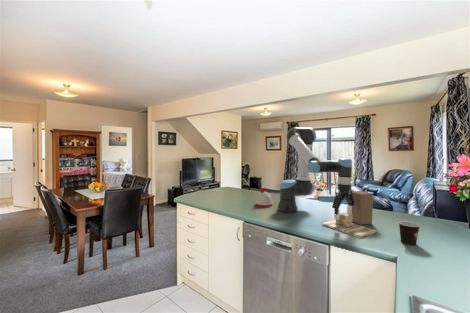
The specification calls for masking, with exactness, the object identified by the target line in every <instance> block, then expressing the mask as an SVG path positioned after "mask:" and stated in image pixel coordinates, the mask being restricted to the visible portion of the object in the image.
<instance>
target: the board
mask: <svg viewBox="0 0 470 313" xmlns="http://www.w3.org/2000/svg"><path fill="white" fill-rule="evenodd" d="M321 225H322V226H323V225H324V226H323V227H326V226H327V228H329V227H330V228H329V229H332V228H333V230H335V229H336V231H338V230H339V232H341V231H342V232H341V233H344V234H347V233H348V235H350V234H351V235H350V236H353V235H354V237H356V236H357V237H356V238H359V237H360V239H363V238H365V237H368V236H371V235H373V234H376V233H377V230H376V229H373V228H369V227H367V226H363V225H359V224H357V223H354V222H352V227H349V228H346V227H343V226H340V225H337V224H336V219H331V220H328V221H325V222H323V223H322V224H321Z"/></svg>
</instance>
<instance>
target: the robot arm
mask: <svg viewBox="0 0 470 313" xmlns="http://www.w3.org/2000/svg"><path fill="white" fill-rule="evenodd" d="M286 132H287V133H286V141H287V144H289V145H290V146H293V148H294V149H295V151H296V152H297V153H298V162H297V163H298V164H297V165H298V166H297V167H298V168H297V177H295V179H284V180H282V181H280V184H279V185H280V186H279V189H280V190H279V192H280V193H279V202H278V205H277V210H278V211H279V212H283V213H296V212H298V206H297V202H296V197H303V196H304V197H306V196H311V194H313V193H314V190H315V186H314V182H313V181H312V179H311V177H310V173H311V174H313V173H314V174H317V173H318V174H319V173H321V174H323V173H335V174H336V173H337V175H338V176H337V190H338V191H339V192H335V196H334V200H333V201H332V202H333V203H332V206H331V208H333V209H334V216H333V218H334V219H333V220H335V219H337V220H339V212H340V211H341V210H340V207H341V204H342V202H343V201H344V200H345V201H346V203H347V207H346V214H350V215H352V206H354V199H353V195H352V191H353V190H352V181H353V180H352V174H353V173H352V172H353V171H352V170H353V161H352V159H351V158H343V157H342V158H338V160H333V159H331V160H330V159H328V160H320V159H319V158H318V157H317V156H316V155H315V153H314V152H313V151H312V149H311V147H312V146H313V143H314V142H315V141H316V140H317V134H316V130H315V129H314V128H312V127H302V126H300V127H298V126H294V127H292V128H290V129H289V130H288V131H286Z"/></svg>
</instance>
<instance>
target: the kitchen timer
mask: <svg viewBox="0 0 470 313" xmlns="http://www.w3.org/2000/svg"><path fill="white" fill-rule="evenodd" d="M259 191H260V193H259V194H258V195H257V198H256V200H255V206H257V207H260V208H270V207H271V208H272V206H273V199H272V197H271V195H270V193H268V192H269V189H268V188H266V187H261V188H260V189H259Z"/></svg>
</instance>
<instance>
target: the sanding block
mask: <svg viewBox="0 0 470 313" xmlns="http://www.w3.org/2000/svg"><path fill="white" fill-rule="evenodd" d="M352 220H353V215H350V214H347V212H342V211H339V220H337V219H336V224H337V225H340V226H343V227H346V228H349V227H352V223H353V222H352Z"/></svg>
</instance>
